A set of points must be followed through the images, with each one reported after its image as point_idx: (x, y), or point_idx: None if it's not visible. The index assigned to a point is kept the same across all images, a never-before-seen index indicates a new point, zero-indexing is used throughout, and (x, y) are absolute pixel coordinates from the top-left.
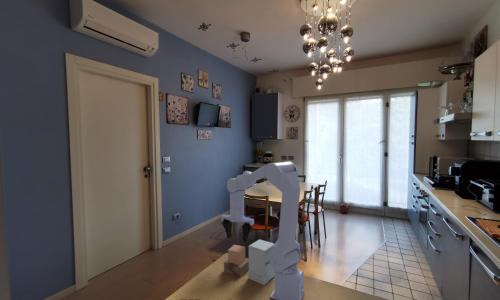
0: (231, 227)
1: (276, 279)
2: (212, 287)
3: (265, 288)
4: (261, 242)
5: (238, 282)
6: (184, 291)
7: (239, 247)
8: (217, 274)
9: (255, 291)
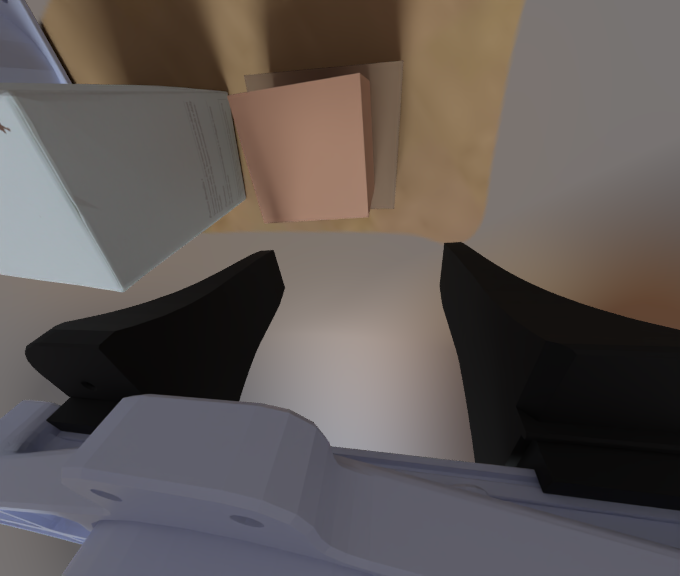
0: (462, 368)
1: None
2: None
3: (107, 63)
4: (37, 241)
5: (241, 5)
6: None
7: (294, 191)
8: None
9: None
